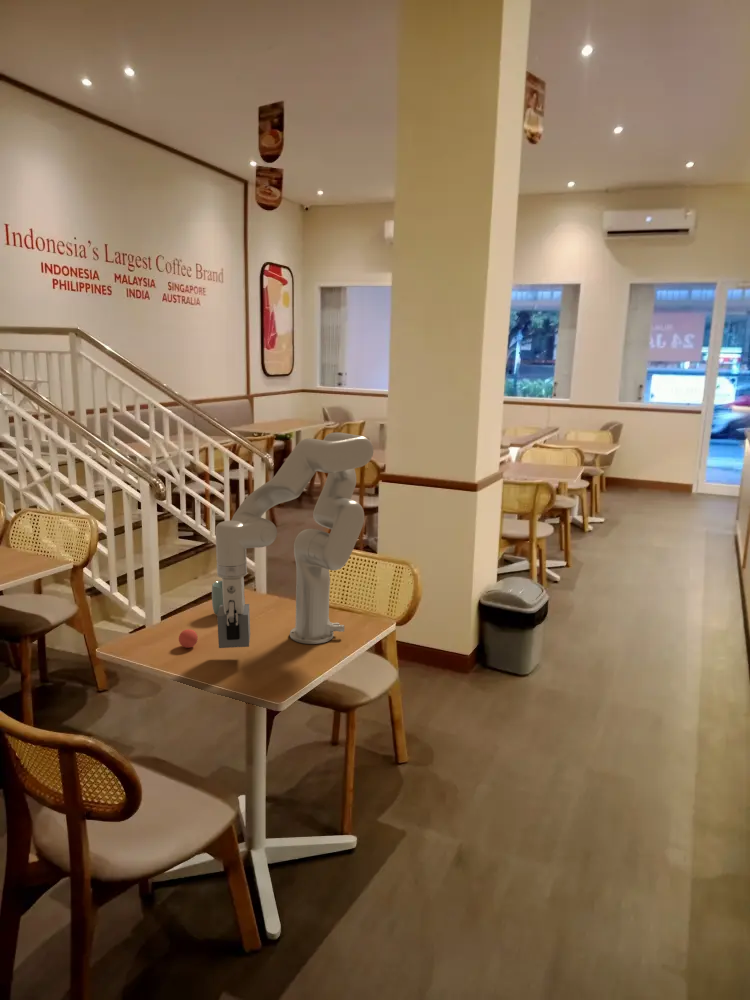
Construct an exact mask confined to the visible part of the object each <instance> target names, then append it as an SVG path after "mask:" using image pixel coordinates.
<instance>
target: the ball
mask: <svg viewBox="0 0 750 1000" xmlns="http://www.w3.org/2000/svg"><path fill="white" fill-rule="evenodd" d="M198 639H199V638H198V634H197V632H196V631H195V630H193V629H190V628H187V629H184V630H182V631H181V632H180V633H179V636H178V641H179V644H180V645H181V646H182V647H183V648H186V649H189V648H193V647H194V646H195V645H196V644H197V642H198Z"/></svg>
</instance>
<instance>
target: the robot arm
mask: <svg viewBox="0 0 750 1000" xmlns="http://www.w3.org/2000/svg"><path fill="white" fill-rule="evenodd" d="M373 456H374V446H373V443H372V441H371V440H370V439H369V438H367V437H365V436H363V435H358V434H352V433H351V434H350V433H346V432H337V431H336V432H330V433H328V434H326V436H324V438H323V439H319V438H304V439H301V440H300V441H298V443H297V444H296V445H295V447H294V448H293V449H292V451H291V452H290V454H289V455H288V456H287V458H286V459H285V461H284V462H283V463H282V465H281V467H280V468H279V469H278V471H277V472H276V473H275V475H274V477H272V478H271V479H270V480H268V481H267V482H265V483H264V484H263V485H261V486H259V487H258V488H257V489H255V490H254V491H252V492H251V493H250V494H249V495H248V496H246V498H244V500H243V501H242V502H241V504H240V506H239V507H238V508H237V509H236V511H235V513H234V514H233V516H232V518H231V520H224V521H221V522H218V524H217V525H216V526H215V553H216V573H217V574H216V576H217V577H218V578H220V579H221V581H222V589H223V605H224V614H225V615H227V625H226V629H227V640H238V639H239V638H240V632H239V624H238V614H241V615H242V614H243V613H244V608H245V604H246V599H245V581H244V580H245V579H244V577H245V576H247V575H248V568H247V567H248V566H247V549H253V548H255V549H256V548H258V549H259V548H266V547H268V546H271V545H272V544H273V543H274V541H276V538H277V536H278V530H277V527H276V525H275V524H274V523H273V521H271V520H269V519H267V518H265V517H263V515H264V514H265V513H267V511H269V510H270V509H271V508H273V507H275V506H277V505H279V504H283V503H286V502H290V501H292V500H296V499H297V498H299V497H300V496H301V494H302V493H303V492H304V491H305V489H306V487H307V485H308V484H309V483H310V481H311V480H312V478H313V477H314V475H315V474H316V473H317V472H320V473H325V474H327V477H326V479H325V483H324V485H323V486H322V490H321V492H320V494H319V497H318V499H317V500H316V504H315V506H314V510H313V513H312V514H313V515H312V516H313V517H312V518H313V520H314V522H315V523H316V524H317V525H319V526H321V527H323V528H326V529H329V530H330V532H329V533H328V532H326V531H323V530H319V529H315V528H307V529H303V530H302V531H300V532H299V533H298V534H297V535H296V537H295V540H294V541H293V555H294V559H295V569H296V583H295V584H296V585H295V586H296V587H295V588H296V589H295V590H296V591H295V627H293V628H292V629H291V630H290V632H289V637H290V639H291V640H293V641H294V642H296V643H300V644H305V645H315V644H316V645H319V644H324V643H326V642H329V641H331V640H332V639H333V638H334V633H335V632H338V633H339V632H342V633H343V632H345V624H340V622H332V621H330V617H329V616H330V615H329V614H330V592H331V591H330V588H331V586H330V584H331V577H330V576H331V575H330V574H331V573H330V571H339V570H340V569H342V568H343V567H344V566H345V565H346V564H347V563H348V561H349V559H350V558H351V555H352V553H353V550H354V548H355V546H356V543H357V541H358V539H359V536H360V535H361V532H362V529H363V526H364V524H365V523H364V522H365V512H364V507H362V505H361V504H360V502H357V501H356V500H353V499H352V497H353V494H354V491H355V489H356V485H357V473H356V469H357V468H362V467H364V466H366V465H367V464H368V463H370V462H371V460H372V458H373ZM234 611H236V613H234ZM234 616H236V619H235V618H234Z"/></svg>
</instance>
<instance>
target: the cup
mask: <svg viewBox="0 0 750 1000" xmlns="http://www.w3.org/2000/svg"><path fill="white" fill-rule="evenodd" d="M211 585H212V586H211V603H212V610H213V613H214V614H215V616H217V615H218V611H219V607H220V605H223V589H222V580H218V581H215V582H213V583H212V584H211Z"/></svg>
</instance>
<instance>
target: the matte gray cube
mask: <svg viewBox="0 0 750 1000" xmlns="http://www.w3.org/2000/svg"><path fill="white" fill-rule="evenodd" d="M234 613H236V611H234ZM250 616H251V615H250V603H245V608H244V613H243V614H242V615H241V614H238V624H239V632H240V638H239V639H238V640H227V629H226V625H227V615H225V614H224V605H220V607H219V611H218V615H216V617H217V618H216V619H217V635H218V636H217V638H218V649H228V648H249V647H250V640H251V619H250V618H251V617H250ZM234 618H235V619H236V616H234Z"/></svg>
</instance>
